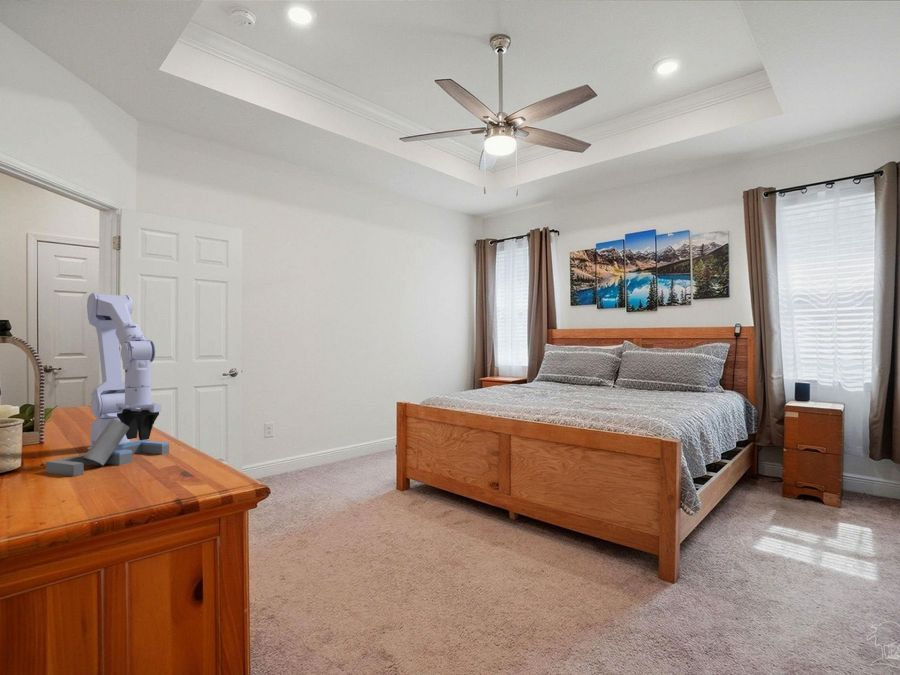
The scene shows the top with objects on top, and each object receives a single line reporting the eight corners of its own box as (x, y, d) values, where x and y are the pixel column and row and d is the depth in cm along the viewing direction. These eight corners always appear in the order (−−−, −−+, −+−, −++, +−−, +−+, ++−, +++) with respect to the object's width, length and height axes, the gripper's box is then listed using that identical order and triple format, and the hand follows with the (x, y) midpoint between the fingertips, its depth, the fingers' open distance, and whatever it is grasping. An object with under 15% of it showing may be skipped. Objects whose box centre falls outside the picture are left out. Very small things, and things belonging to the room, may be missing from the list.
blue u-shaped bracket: (92, 452, 118) (92, 448, 118) (143, 442, 130) (143, 438, 130) (119, 455, 114) (119, 451, 114) (169, 444, 126) (169, 440, 126)
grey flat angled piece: (46, 472, 108) (46, 461, 108) (143, 451, 130) (143, 442, 130) (73, 476, 104) (73, 464, 105) (169, 454, 126) (169, 444, 126)
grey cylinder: (106, 468, 113) (133, 429, 119) (95, 460, 109) (123, 421, 116) (90, 464, 114) (117, 426, 120) (78, 456, 110) (107, 418, 116)
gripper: (103, 387, 121) (103, 440, 121) (142, 388, 116) (142, 443, 115) (130, 385, 128) (130, 435, 127) (168, 386, 122) (168, 438, 122)
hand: (138, 439), depth 122 cm, fingers open, 4 cm apart
